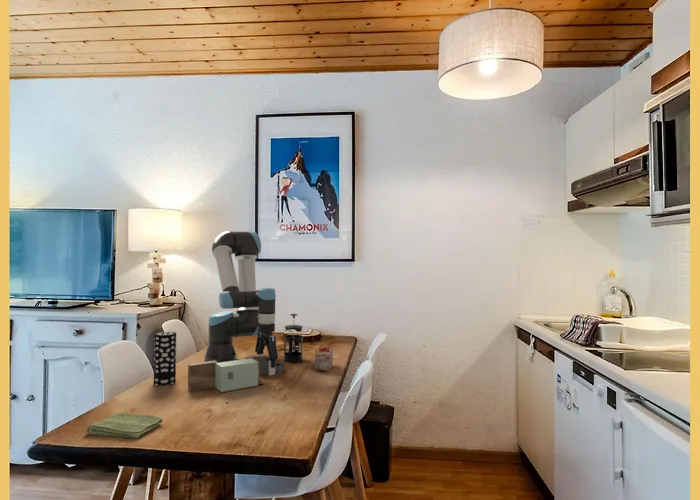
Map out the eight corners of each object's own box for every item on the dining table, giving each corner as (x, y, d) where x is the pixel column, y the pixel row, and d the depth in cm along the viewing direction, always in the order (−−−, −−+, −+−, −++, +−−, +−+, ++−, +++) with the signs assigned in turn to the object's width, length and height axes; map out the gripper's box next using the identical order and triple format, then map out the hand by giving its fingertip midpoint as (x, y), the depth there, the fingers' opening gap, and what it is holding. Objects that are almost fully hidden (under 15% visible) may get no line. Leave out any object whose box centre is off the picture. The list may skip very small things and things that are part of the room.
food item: (331, 372, 200) (331, 350, 200) (313, 372, 200) (314, 350, 200) (333, 365, 214) (333, 344, 214) (316, 364, 214) (316, 344, 214)
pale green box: (215, 387, 176) (215, 363, 176) (250, 381, 184) (251, 358, 184) (221, 392, 169) (222, 367, 169) (258, 386, 178) (259, 362, 178)
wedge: (250, 373, 198) (250, 355, 198) (279, 368, 206) (279, 351, 206) (255, 376, 194) (255, 357, 194) (284, 371, 202) (284, 353, 202)
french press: (299, 363, 216) (299, 315, 216) (280, 362, 217) (281, 315, 218) (306, 357, 227) (306, 312, 227) (288, 356, 229) (288, 312, 229)
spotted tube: (180, 381, 184) (180, 332, 184) (164, 386, 177) (164, 336, 177) (165, 378, 188) (166, 331, 188) (148, 383, 180) (149, 334, 180)
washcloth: (138, 441, 127) (138, 430, 127) (83, 436, 130) (83, 425, 130) (165, 424, 140) (165, 414, 140) (114, 420, 143) (114, 409, 143)
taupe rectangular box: (187, 390, 173) (188, 364, 173) (256, 378, 189) (256, 354, 189) (190, 392, 170) (190, 365, 170) (259, 380, 187) (259, 356, 187)
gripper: (248, 320, 207) (247, 367, 207) (270, 327, 188) (269, 379, 188) (263, 318, 211) (262, 365, 211) (286, 325, 192) (285, 376, 192)
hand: (265, 371), depth 199 cm, fingers open, 11 cm apart
